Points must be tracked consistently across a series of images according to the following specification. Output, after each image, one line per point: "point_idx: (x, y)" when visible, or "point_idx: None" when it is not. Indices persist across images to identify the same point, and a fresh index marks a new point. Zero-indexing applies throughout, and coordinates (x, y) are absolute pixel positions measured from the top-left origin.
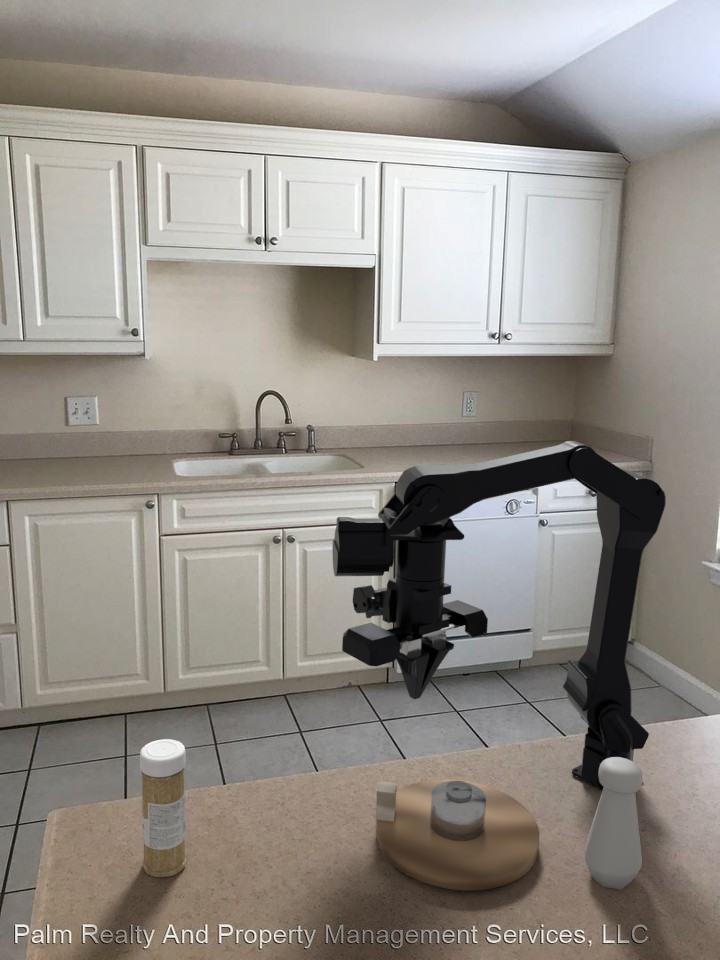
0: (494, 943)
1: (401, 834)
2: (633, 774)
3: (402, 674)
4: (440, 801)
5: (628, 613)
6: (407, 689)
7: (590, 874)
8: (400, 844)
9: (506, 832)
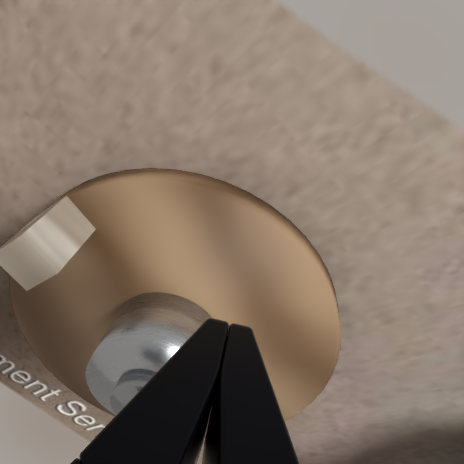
0: (60, 413)
1: (55, 277)
2: None
3: (94, 439)
4: (97, 372)
5: None
6: (183, 345)
7: None
8: (33, 292)
9: None
